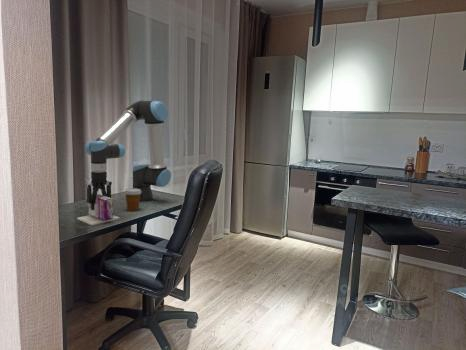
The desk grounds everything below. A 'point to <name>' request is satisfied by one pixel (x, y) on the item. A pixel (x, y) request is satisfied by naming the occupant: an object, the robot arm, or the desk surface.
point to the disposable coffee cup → (133, 198)
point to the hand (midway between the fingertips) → (99, 214)
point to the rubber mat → (94, 219)
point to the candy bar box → (102, 207)
